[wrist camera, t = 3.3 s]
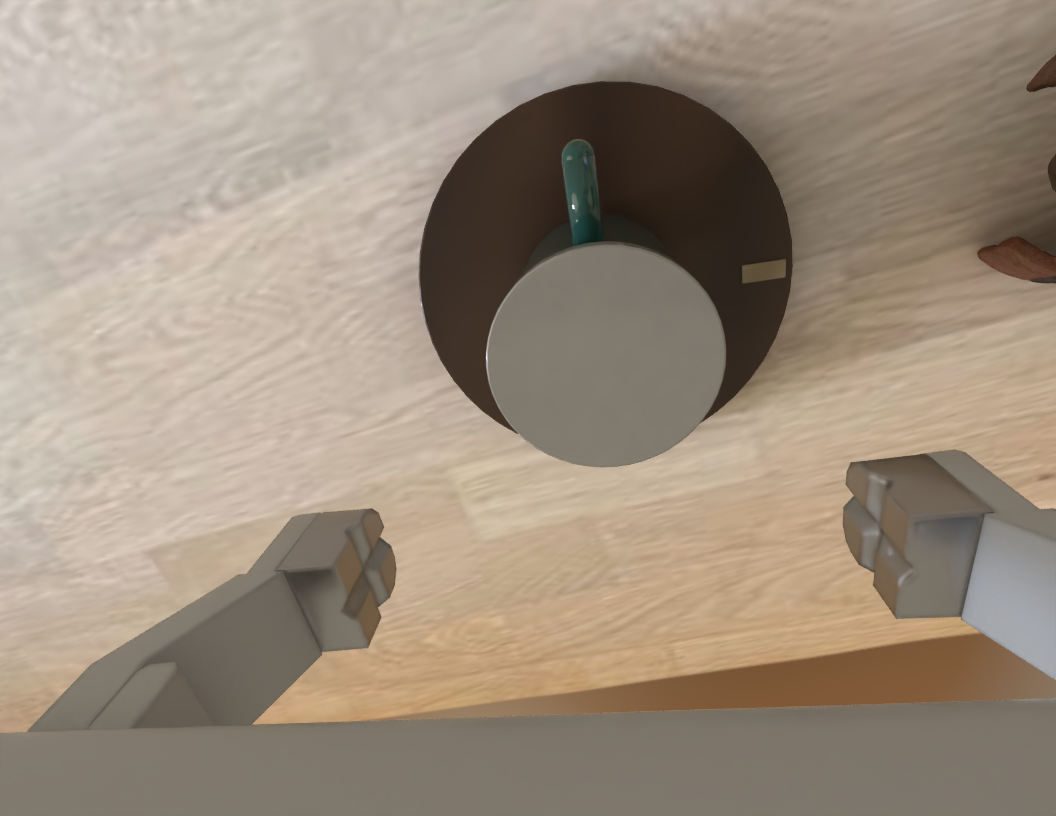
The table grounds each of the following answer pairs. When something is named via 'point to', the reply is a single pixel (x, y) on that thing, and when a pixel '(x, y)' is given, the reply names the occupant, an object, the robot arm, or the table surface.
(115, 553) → the table surface
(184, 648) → the robot arm
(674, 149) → the turntable
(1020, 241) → the brown strap loop
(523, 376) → the green lidded mug
